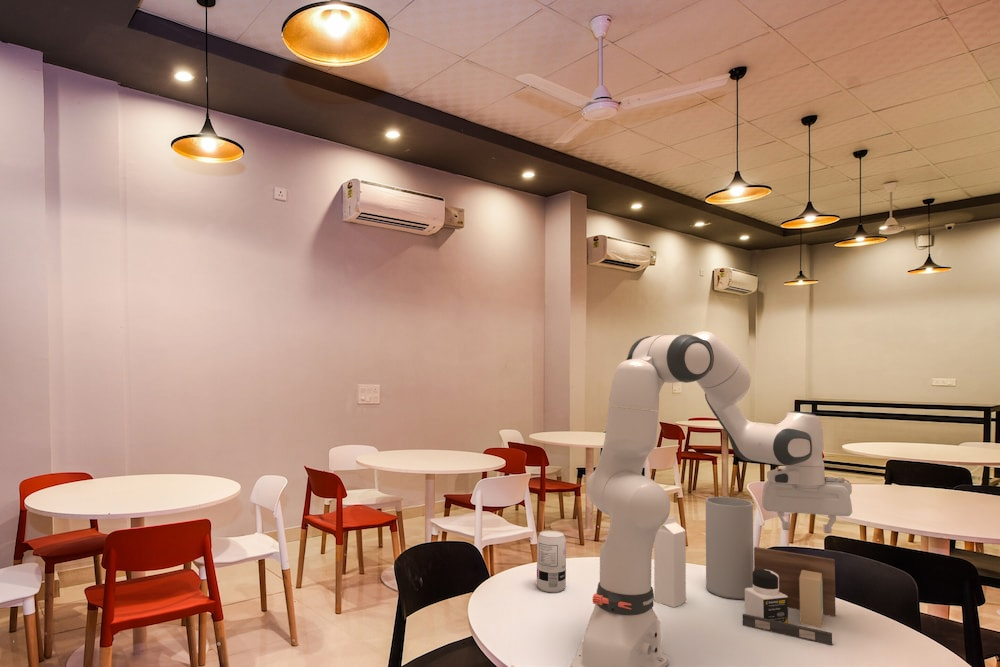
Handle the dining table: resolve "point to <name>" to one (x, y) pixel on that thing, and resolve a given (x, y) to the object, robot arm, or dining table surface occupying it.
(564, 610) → the dining table surface
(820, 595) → the carton
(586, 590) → the dining table surface
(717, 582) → the cylinder vase
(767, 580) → the medicine bottle
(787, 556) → the brown flat boards
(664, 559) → the milk
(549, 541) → the supplement can
